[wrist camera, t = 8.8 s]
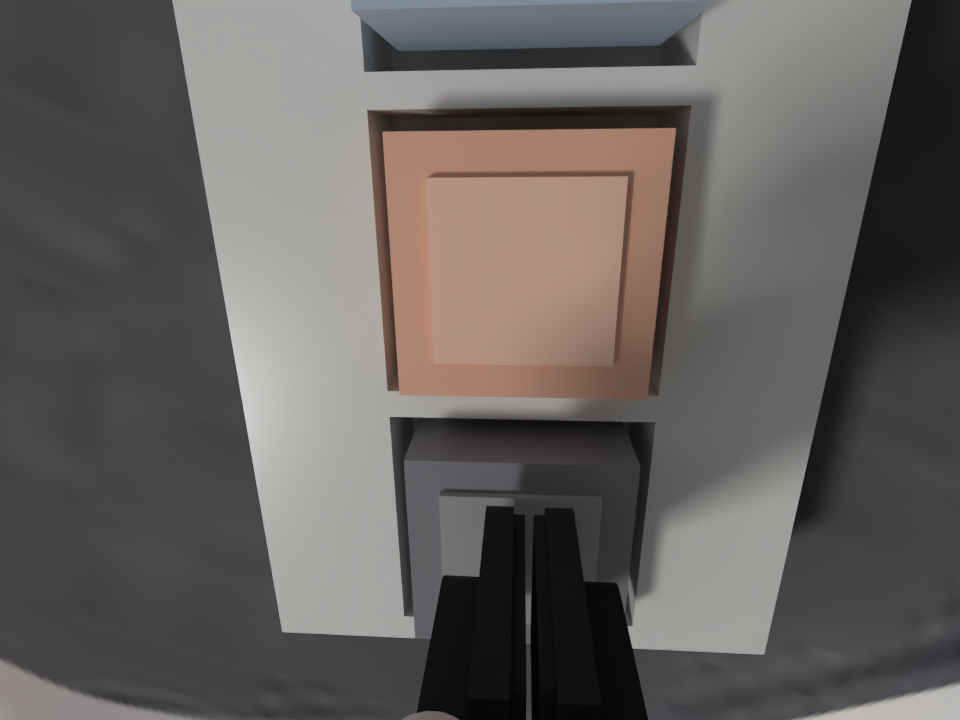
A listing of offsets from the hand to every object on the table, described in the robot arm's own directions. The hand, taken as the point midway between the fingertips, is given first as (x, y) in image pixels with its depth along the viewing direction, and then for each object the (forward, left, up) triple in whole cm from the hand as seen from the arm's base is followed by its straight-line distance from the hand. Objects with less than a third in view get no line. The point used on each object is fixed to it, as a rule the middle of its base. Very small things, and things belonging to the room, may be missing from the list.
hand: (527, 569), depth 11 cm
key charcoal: (0, 0, -4) cm, 4 cm away
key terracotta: (0, -6, -4) cm, 7 cm away
